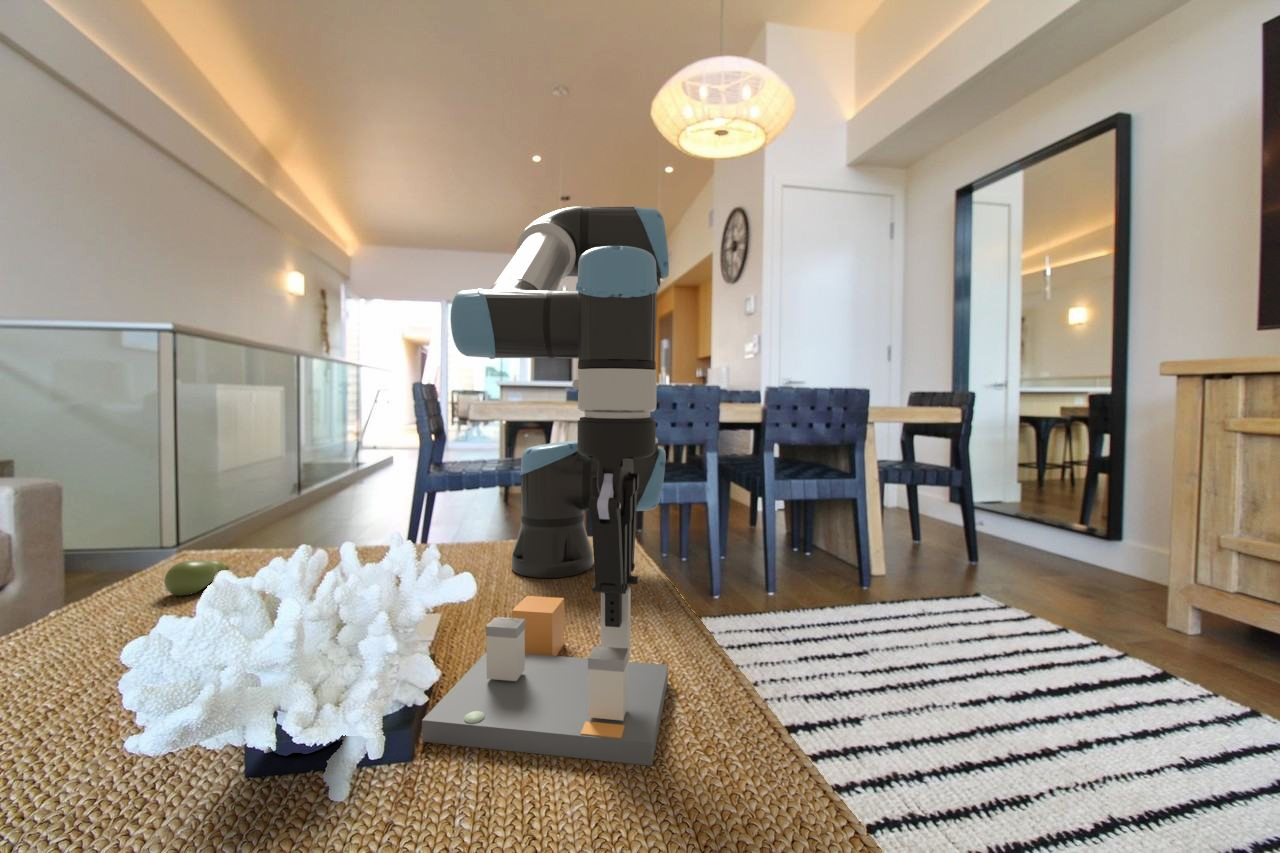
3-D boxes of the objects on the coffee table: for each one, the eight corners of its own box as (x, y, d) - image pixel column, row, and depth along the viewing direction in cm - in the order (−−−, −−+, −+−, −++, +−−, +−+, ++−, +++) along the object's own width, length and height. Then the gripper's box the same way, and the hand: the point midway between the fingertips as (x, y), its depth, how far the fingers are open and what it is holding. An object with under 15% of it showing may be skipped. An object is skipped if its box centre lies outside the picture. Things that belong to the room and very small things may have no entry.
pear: (156, 563, 84) (207, 555, 94) (153, 598, 84) (204, 587, 93) (193, 563, 84) (239, 555, 94) (189, 598, 84) (237, 587, 93)
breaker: (495, 667, 59) (495, 616, 58) (525, 669, 58) (525, 618, 58) (485, 678, 56) (485, 626, 56) (516, 681, 56) (516, 628, 55)
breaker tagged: (594, 702, 52) (594, 645, 52) (628, 705, 51) (628, 648, 51) (587, 717, 49) (587, 658, 49) (623, 720, 49) (623, 660, 49)
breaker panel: (487, 667, 63) (487, 649, 63) (667, 682, 60) (668, 663, 60) (422, 741, 49) (422, 719, 49) (651, 765, 46) (652, 741, 46)
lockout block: (526, 641, 70) (526, 595, 70) (564, 644, 70) (564, 598, 69) (512, 659, 66) (512, 610, 65) (552, 662, 65) (552, 613, 65)
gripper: (594, 411, 59) (593, 622, 61) (559, 417, 47) (559, 684, 48) (662, 412, 58) (660, 627, 60) (646, 418, 45) (643, 691, 47)
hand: (615, 652), depth 54 cm, fingers closed
